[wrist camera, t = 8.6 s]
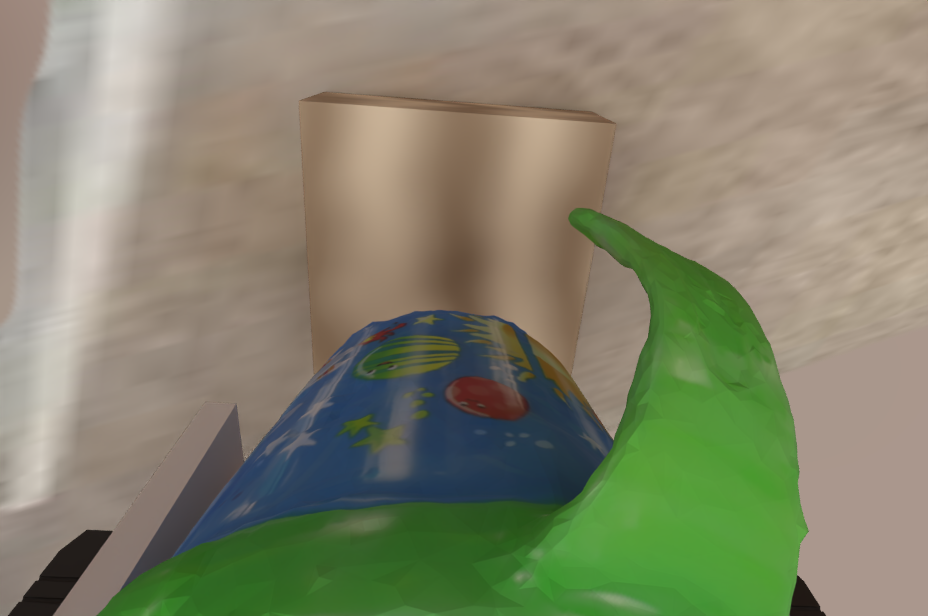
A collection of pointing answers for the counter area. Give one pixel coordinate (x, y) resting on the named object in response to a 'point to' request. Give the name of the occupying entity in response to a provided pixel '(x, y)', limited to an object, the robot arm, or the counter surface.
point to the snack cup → (512, 475)
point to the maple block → (448, 213)
